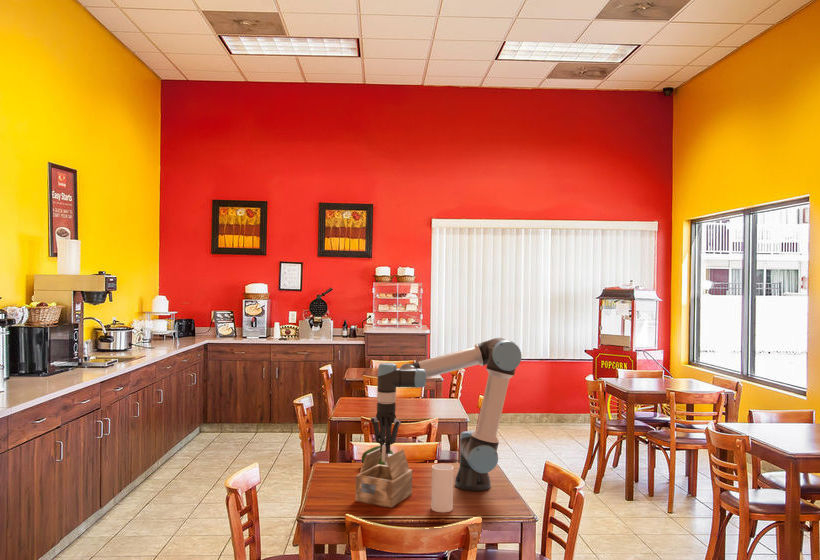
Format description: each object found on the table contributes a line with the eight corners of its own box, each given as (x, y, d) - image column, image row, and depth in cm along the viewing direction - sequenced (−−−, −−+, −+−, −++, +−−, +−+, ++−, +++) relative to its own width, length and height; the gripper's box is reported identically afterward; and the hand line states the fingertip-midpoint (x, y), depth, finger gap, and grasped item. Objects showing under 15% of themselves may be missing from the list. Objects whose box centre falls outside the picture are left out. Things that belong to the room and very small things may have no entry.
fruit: (360, 470, 285) (361, 448, 285) (362, 464, 295) (362, 443, 295) (393, 470, 285) (394, 449, 286) (393, 464, 295) (394, 443, 295)
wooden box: (412, 493, 254) (413, 469, 255) (390, 508, 237) (391, 482, 237) (378, 487, 261) (378, 463, 261) (354, 501, 244) (355, 476, 244)
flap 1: (378, 464, 259) (384, 447, 257) (361, 473, 246) (367, 455, 245) (376, 463, 259) (383, 446, 258) (359, 472, 246) (366, 454, 245)
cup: (430, 504, 242) (430, 463, 242) (450, 504, 243) (451, 463, 243) (432, 512, 234) (433, 469, 234) (454, 512, 235) (455, 469, 235)
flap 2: (409, 468, 252) (403, 449, 254) (393, 478, 240) (387, 457, 241) (407, 469, 253) (402, 449, 254) (391, 478, 240) (386, 457, 241)
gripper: (405, 402, 250) (403, 461, 250) (376, 398, 256) (375, 456, 256) (396, 405, 243) (395, 465, 243) (367, 401, 249) (366, 460, 249)
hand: (384, 460), depth 249 cm, fingers closed
